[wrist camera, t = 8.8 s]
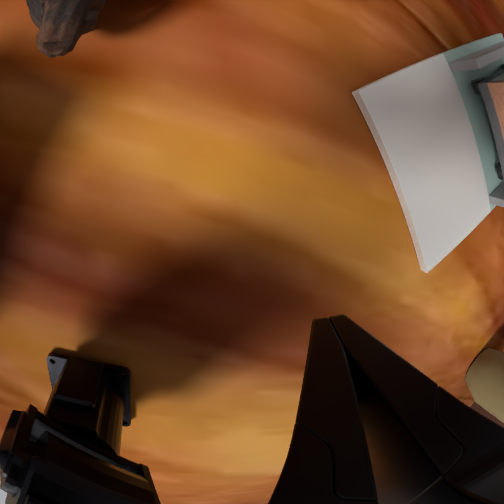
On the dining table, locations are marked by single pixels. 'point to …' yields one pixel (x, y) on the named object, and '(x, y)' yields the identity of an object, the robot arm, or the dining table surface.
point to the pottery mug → (63, 23)
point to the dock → (438, 143)
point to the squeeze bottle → (488, 381)
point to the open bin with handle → (494, 110)
